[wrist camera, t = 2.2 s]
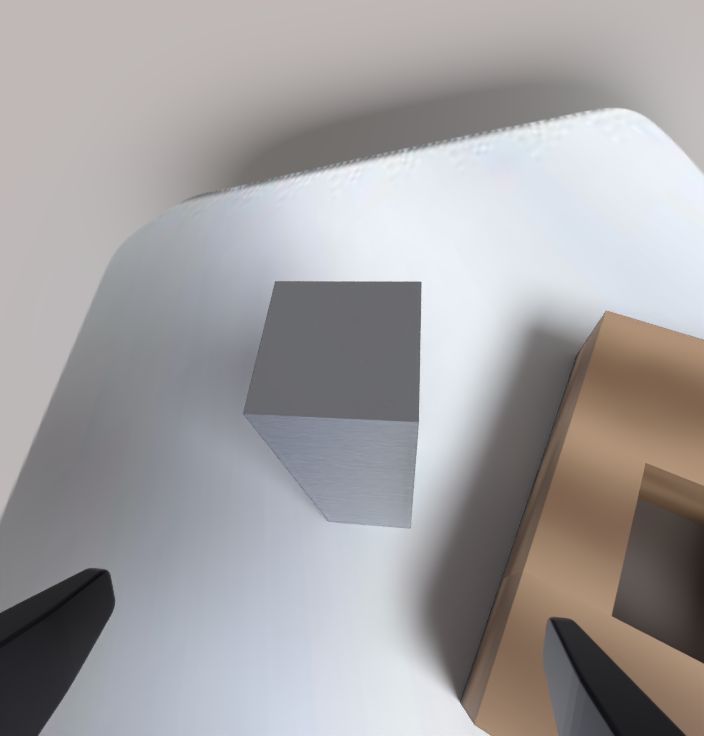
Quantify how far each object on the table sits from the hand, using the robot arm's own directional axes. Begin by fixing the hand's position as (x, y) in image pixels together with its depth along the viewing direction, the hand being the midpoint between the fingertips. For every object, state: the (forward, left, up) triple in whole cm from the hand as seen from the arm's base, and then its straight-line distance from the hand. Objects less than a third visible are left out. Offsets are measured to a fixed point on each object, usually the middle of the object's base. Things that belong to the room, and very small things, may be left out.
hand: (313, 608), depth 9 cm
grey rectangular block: (+4, +4, -12) cm, 13 cm away
